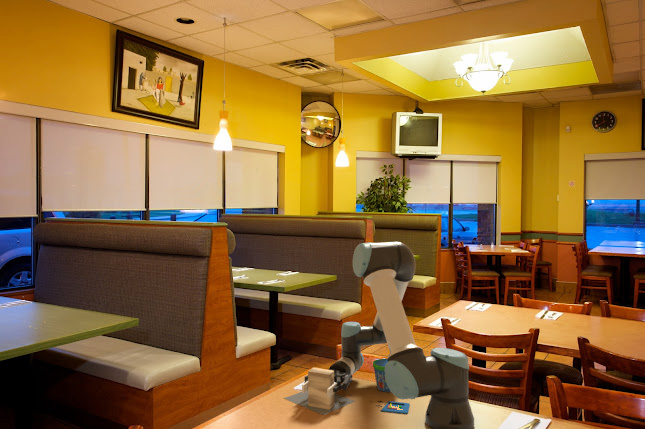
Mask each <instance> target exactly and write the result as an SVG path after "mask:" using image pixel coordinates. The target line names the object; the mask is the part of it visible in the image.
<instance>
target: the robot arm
mask: <svg viewBox="0 0 645 429" xmlns="http://www.w3.org/2000/svg"><path fill="white" fill-rule="evenodd" d="M416 263H417V262H416V259H415V254H414V252H413V251H412V250H411V248H410V247H409V246H408V245H406V244H405V243H403V242H401V241H382V242H379V241H378V242H377V241H376V242H370V241H368V242H363V243H359V244H358V245H356V247H355V248H354V251H353V256H352V271H353V273H354V275H355V276H356V277H358V278H362V280H363V283H364V285H366V286H367V287H369V288H370V292H371V295H372V298H373V302H374V305H375V308H376V311H377V312H376V314H375V318H374V320H373V323H372V325H366V326H365V325H364V326H361V324H360V323H359V322H357V321H346V322H343V323H342V325H341V332H340V333H341V334H340V336H341V337H340V340H341V352H340V353H341V357H340V358H339V359H338V360H336V361H335V362H334V363H332V364H331V365H330V366H329V368H328V370H332V371H334V384H333V385H332V386H330V387H329V388H328V389H327V397H330V396H332V395H333V394H334V393H335V394H337V393H338V392H339V391H344V392H345V391H347V390H348V388H349V386H350V384H351V383H352V382H353V375H354V374H355V373H357V372H358V371H359V370H360V369H361V367H363V364H364V362H365V359H364V355H363V353H362V351H361V348H362V347H365V346H366V347H368V346H373V345H383V344H384V345H386V344H387V347H388V352H389V355H388V356H387V358H386V359H387V360H388V363H386V365H385V369H384V372H385V380H386V383H387V385H388V388H389V389H390V391H391V392H390V393H391V394H392V395H394V396H395V397H396V398H397V399H399V400H415V399H417V398H423V397H427V396H428V397H429V396H430V400H429V402H428V405H427V408H426V410H425V421H424V422H425V423H426V425H427V426H428V427H429V428H431V429H473V428H475V417H474V414H473V410H472V407H471V405H470V401H469V380H470V379H469V374H470V373H469V372H470V366H469V364H470V363H469V358H468V356H467V355H466V354H465V353H464V352H461V351H459V350H455V349H452V348H446V347H435V348H432V349H431V351H430V355H428V356H427V355H425V353H424V349H423V347H421V346H418V345H417V344H416V342H415V338H414V335H413V333H412V329H411V327H410V323H409V320H408V317H407V315H406V311H405V308H404V305H403V303H402V301H403V298H404V295H405V292H406V290H407V287H408V285H409V283H410V282H412V281H413V279H414V276H415V274H416V268H417V266H416V265H417V264H416ZM307 390H308V374H307V375H305V376H304V381H303V384H302V385H301V392H302V393H305V392H306V391H307Z"/></svg>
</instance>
